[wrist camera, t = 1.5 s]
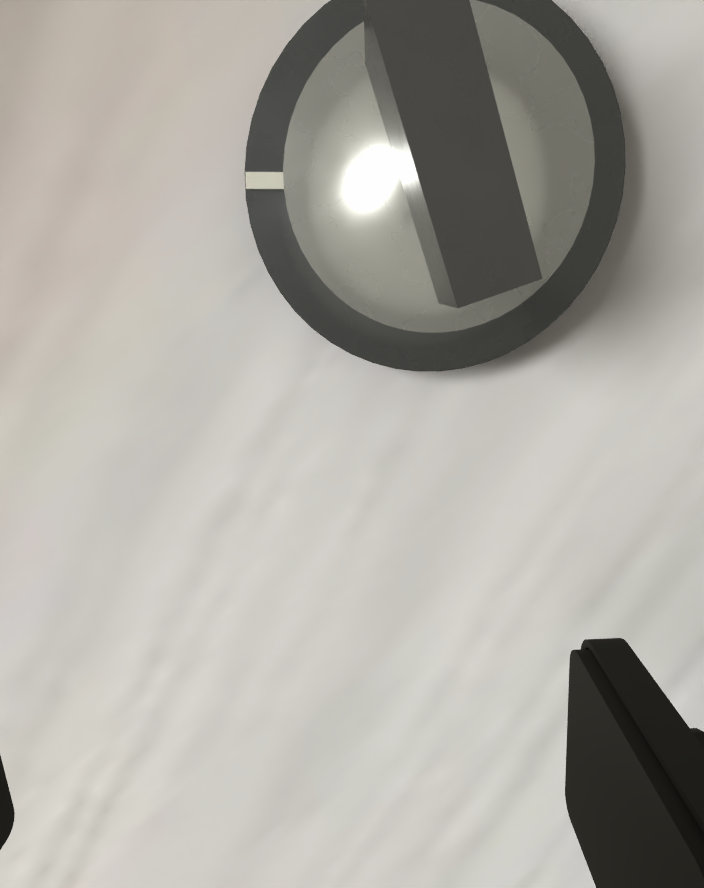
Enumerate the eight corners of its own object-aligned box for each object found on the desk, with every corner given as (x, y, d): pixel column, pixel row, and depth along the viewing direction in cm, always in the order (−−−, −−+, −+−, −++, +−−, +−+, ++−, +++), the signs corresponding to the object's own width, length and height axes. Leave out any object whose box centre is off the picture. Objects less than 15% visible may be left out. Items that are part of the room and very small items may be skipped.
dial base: (557, -79, 26) (574, -113, 24) (642, 301, 30) (664, 302, 28) (198, 70, 28) (184, 51, 26) (323, 409, 32) (319, 419, 30)
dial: (612, 274, 28) (699, 271, 20) (344, 367, 29) (336, 395, 22) (529, -80, 24) (597, -235, 17) (230, 45, 26) (176, -49, 18)
